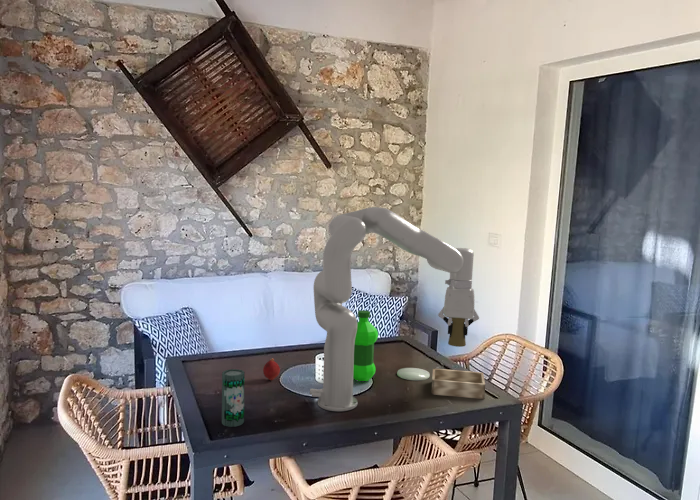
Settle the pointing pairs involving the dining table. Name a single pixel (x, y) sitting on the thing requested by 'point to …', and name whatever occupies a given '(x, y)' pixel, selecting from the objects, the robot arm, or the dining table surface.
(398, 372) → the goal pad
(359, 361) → the plastic bottle
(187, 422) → the dining table surface
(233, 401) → the can
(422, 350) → the dining table surface
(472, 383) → the box
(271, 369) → the onion
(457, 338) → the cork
